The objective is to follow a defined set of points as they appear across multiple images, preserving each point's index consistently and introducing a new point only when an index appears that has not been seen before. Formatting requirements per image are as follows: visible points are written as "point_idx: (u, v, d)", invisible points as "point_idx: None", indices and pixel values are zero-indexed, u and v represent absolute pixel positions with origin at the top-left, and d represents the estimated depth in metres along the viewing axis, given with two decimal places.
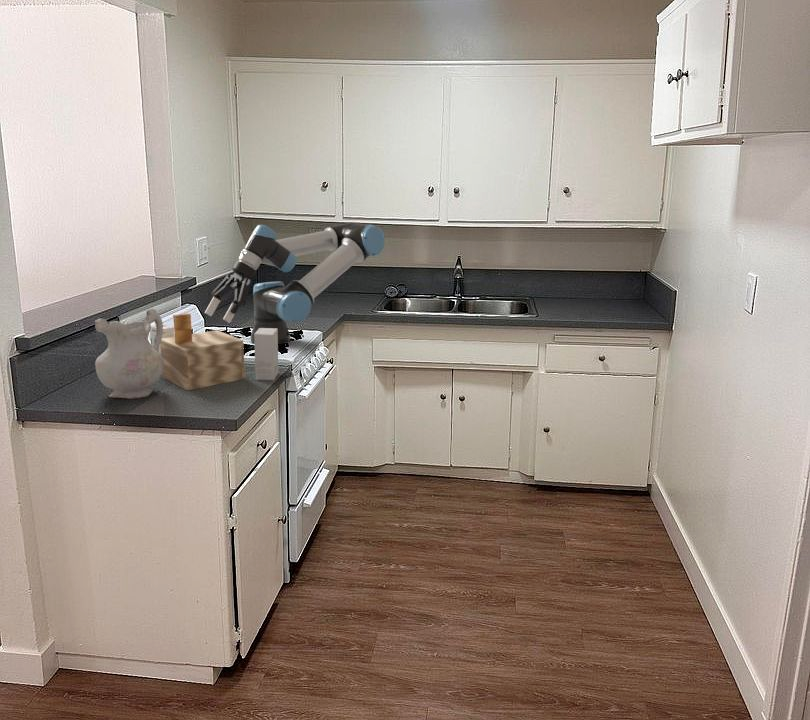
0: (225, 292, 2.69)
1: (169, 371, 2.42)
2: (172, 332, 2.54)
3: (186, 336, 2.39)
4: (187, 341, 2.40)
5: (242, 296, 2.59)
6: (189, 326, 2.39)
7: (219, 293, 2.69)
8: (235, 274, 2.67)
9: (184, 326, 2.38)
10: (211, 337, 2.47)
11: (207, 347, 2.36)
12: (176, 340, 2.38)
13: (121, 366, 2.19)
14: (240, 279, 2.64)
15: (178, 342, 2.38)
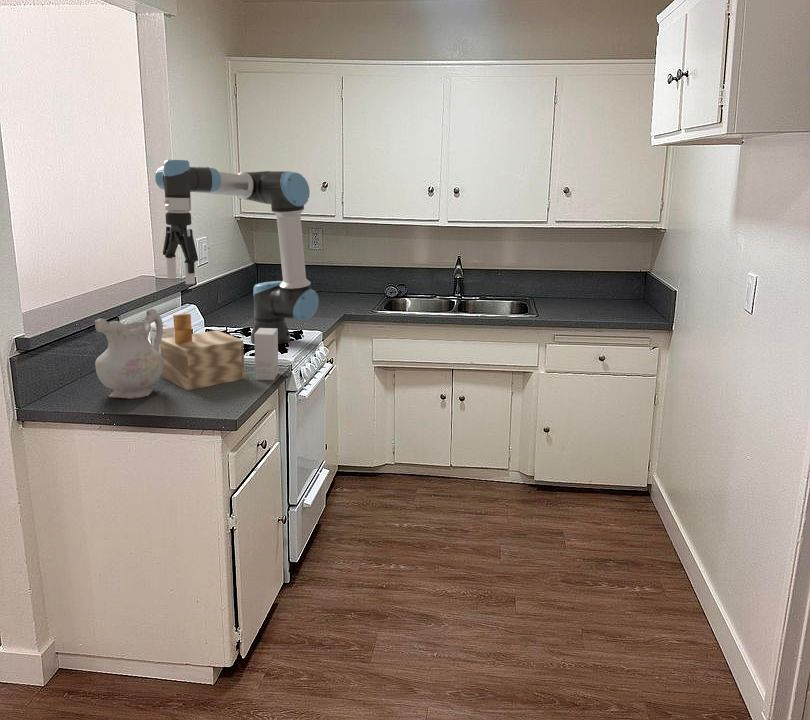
0: (175, 248, 2.38)
1: (169, 371, 2.42)
2: (172, 332, 2.54)
3: (186, 336, 2.39)
4: (187, 341, 2.40)
5: (190, 252, 2.27)
6: (189, 326, 2.39)
7: (170, 252, 2.38)
8: (173, 226, 2.33)
9: (184, 326, 2.38)
10: (211, 337, 2.47)
11: (207, 347, 2.36)
12: (176, 340, 2.38)
13: (121, 366, 2.19)
14: (179, 232, 2.30)
15: (178, 342, 2.38)
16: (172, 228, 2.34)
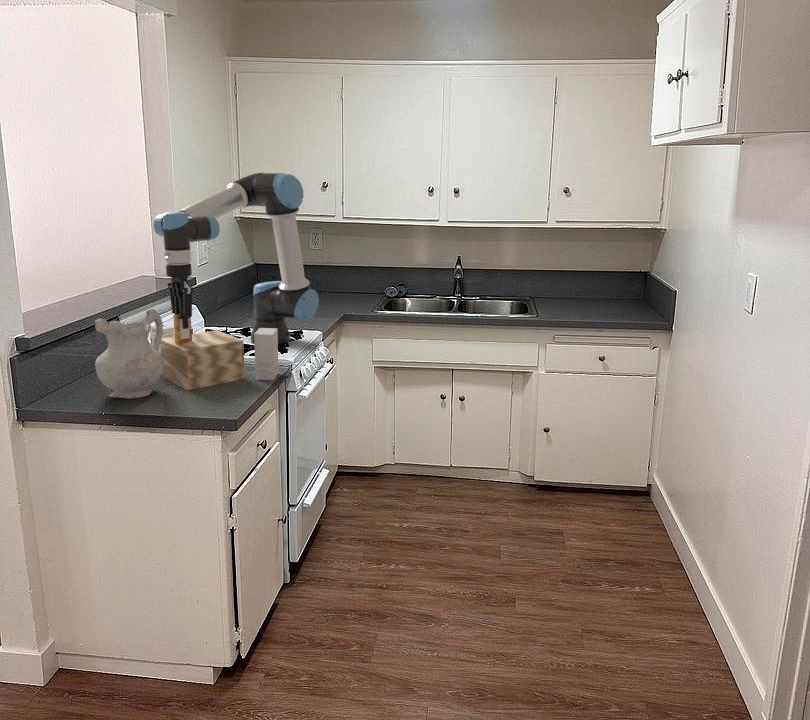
0: None
1: (169, 371, 2.42)
2: (172, 332, 2.54)
3: None
4: (187, 341, 2.40)
5: (186, 310, 2.33)
6: (189, 326, 2.39)
7: (177, 308, 2.38)
8: (173, 277, 2.35)
9: None
10: (211, 337, 2.47)
11: (207, 347, 2.36)
12: (176, 340, 2.38)
13: (121, 366, 2.19)
14: (180, 284, 2.32)
15: (178, 342, 2.38)
16: (173, 279, 2.36)
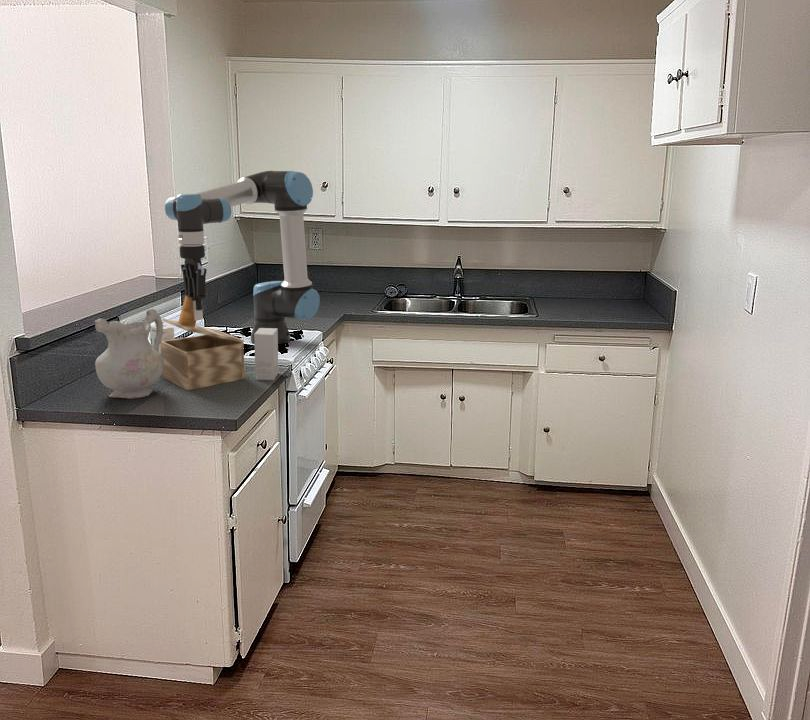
0: None
1: (169, 371, 2.42)
2: (172, 332, 2.54)
3: (190, 320, 2.39)
4: (190, 325, 2.39)
5: (199, 291, 2.35)
6: None
7: (191, 290, 2.39)
8: (187, 259, 2.37)
9: (191, 309, 2.39)
10: (212, 331, 2.46)
11: (209, 334, 2.35)
12: (180, 320, 2.37)
13: (121, 366, 2.19)
14: (194, 265, 2.33)
15: (181, 323, 2.37)
16: (186, 260, 2.37)
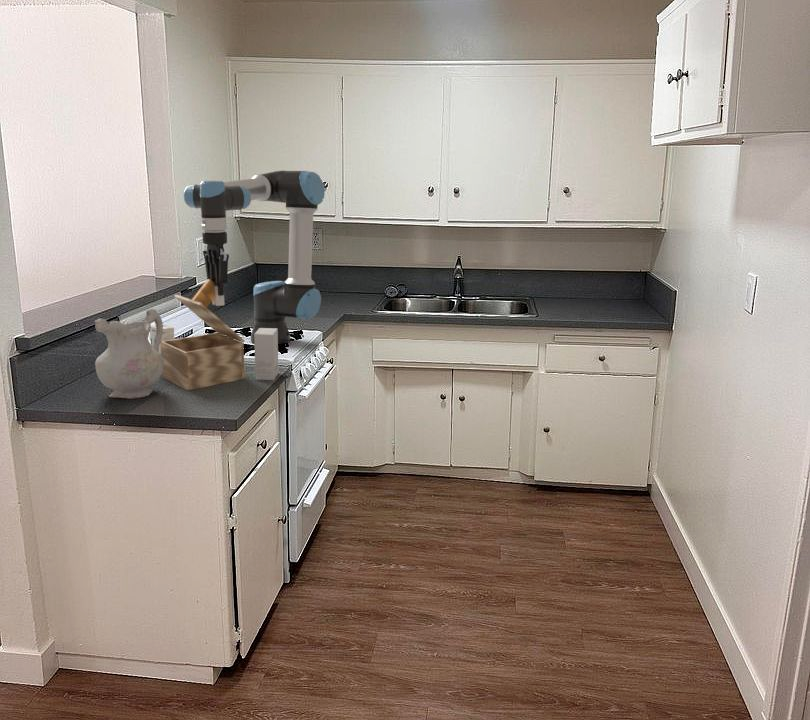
0: None
1: (169, 371, 2.42)
2: (172, 332, 2.54)
3: (203, 303, 2.41)
4: None
5: (222, 277, 2.39)
6: (212, 297, 2.42)
7: (213, 275, 2.43)
8: (209, 245, 2.41)
9: (208, 293, 2.41)
10: None
11: (217, 318, 2.36)
12: (193, 299, 2.39)
13: (121, 366, 2.19)
14: (216, 251, 2.37)
15: (194, 301, 2.38)
16: (209, 247, 2.41)
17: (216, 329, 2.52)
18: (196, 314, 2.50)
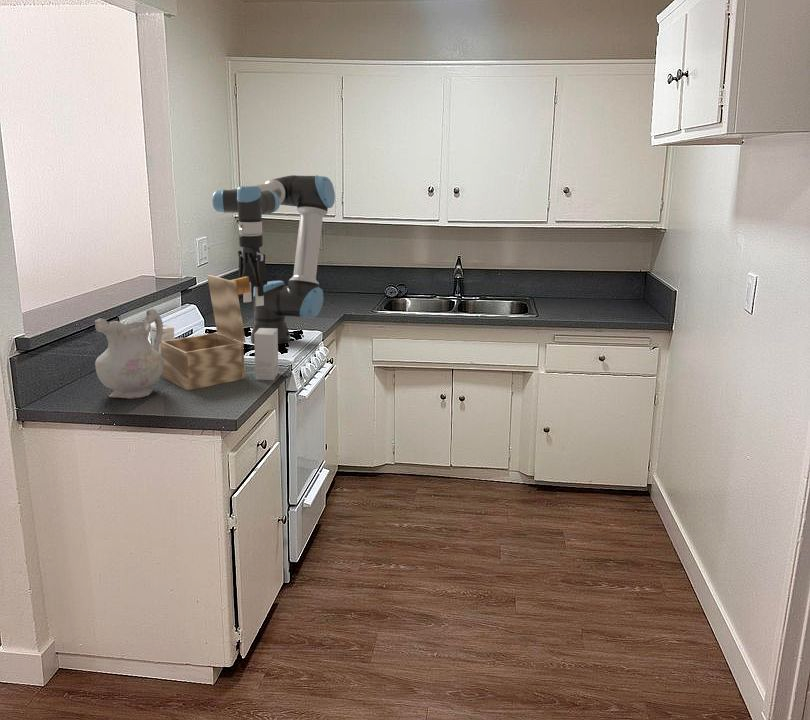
0: (249, 271, 2.53)
1: (169, 371, 2.42)
2: (172, 332, 2.54)
3: None
4: None
5: (261, 277, 2.45)
6: (240, 292, 2.48)
7: (245, 275, 2.53)
8: (245, 248, 2.49)
9: (239, 287, 2.48)
10: None
11: (238, 305, 2.40)
12: None
13: (121, 366, 2.19)
14: (253, 254, 2.46)
15: None
16: (245, 250, 2.50)
17: (221, 326, 2.53)
18: (213, 303, 2.53)
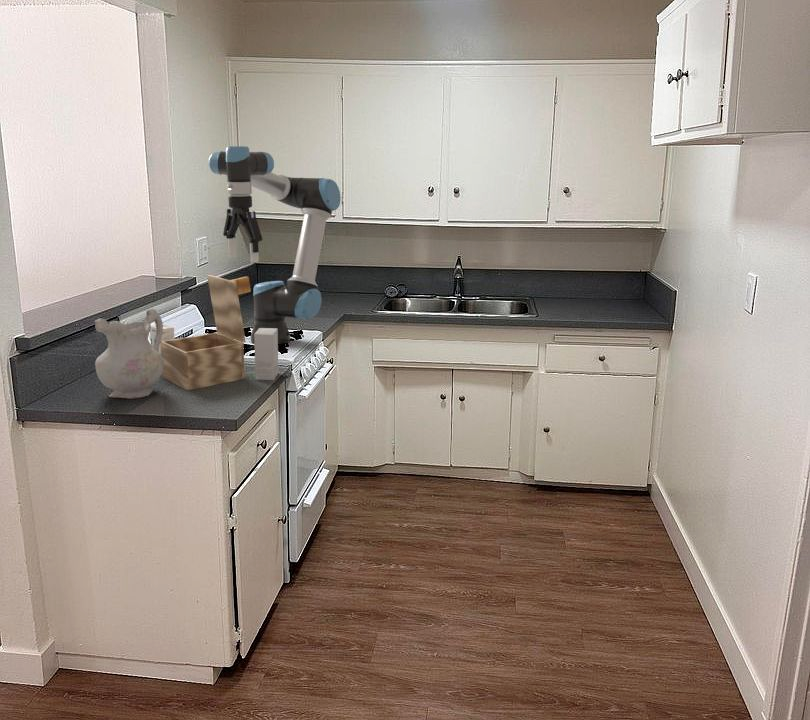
0: (235, 229, 2.55)
1: (169, 371, 2.42)
2: (172, 332, 2.54)
3: None
4: None
5: (255, 233, 2.44)
6: (240, 292, 2.48)
7: (231, 233, 2.55)
8: (235, 209, 2.50)
9: (239, 287, 2.48)
10: None
11: (238, 305, 2.40)
12: None
13: (121, 366, 2.19)
14: (243, 214, 2.47)
15: None
16: (234, 210, 2.50)
17: (221, 326, 2.53)
18: (213, 303, 2.53)
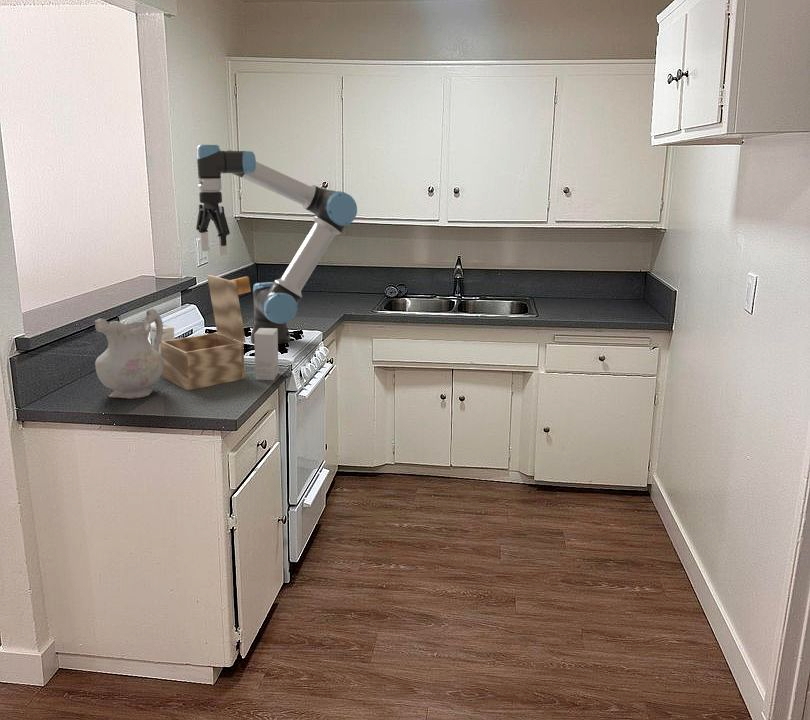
0: (207, 223, 2.67)
1: (169, 371, 2.42)
2: (172, 332, 2.54)
3: None
4: None
5: (223, 227, 2.57)
6: (240, 292, 2.48)
7: (203, 227, 2.68)
8: (205, 204, 2.62)
9: (239, 287, 2.48)
10: None
11: (238, 305, 2.40)
12: None
13: (121, 366, 2.19)
14: (212, 209, 2.59)
15: None
16: (205, 206, 2.63)
17: (221, 326, 2.53)
18: (213, 303, 2.53)
